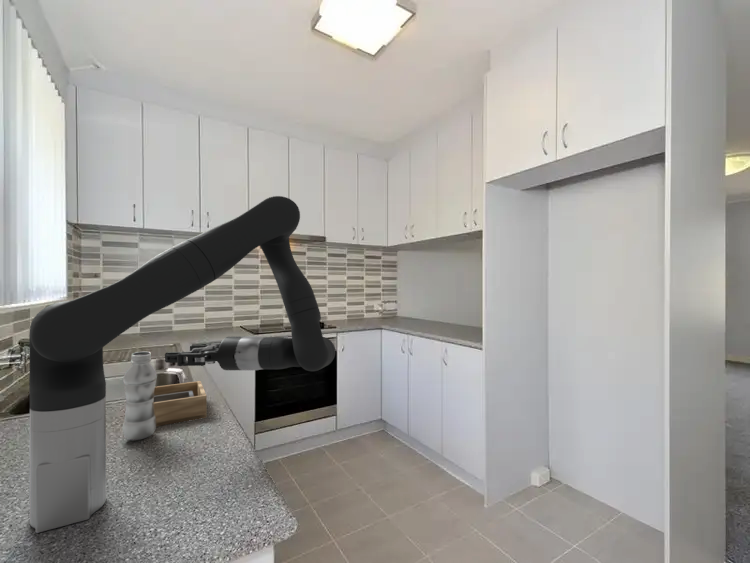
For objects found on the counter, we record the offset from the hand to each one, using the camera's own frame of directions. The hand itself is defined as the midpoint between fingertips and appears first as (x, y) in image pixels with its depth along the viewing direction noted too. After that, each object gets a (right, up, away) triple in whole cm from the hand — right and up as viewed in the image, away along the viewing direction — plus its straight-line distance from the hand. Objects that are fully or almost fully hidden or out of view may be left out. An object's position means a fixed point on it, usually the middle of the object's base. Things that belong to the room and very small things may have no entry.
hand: (178, 353), depth 83 cm
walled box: (-13, -20, +17) cm, 30 cm away
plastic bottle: (-10, -20, +2) cm, 23 cm away
